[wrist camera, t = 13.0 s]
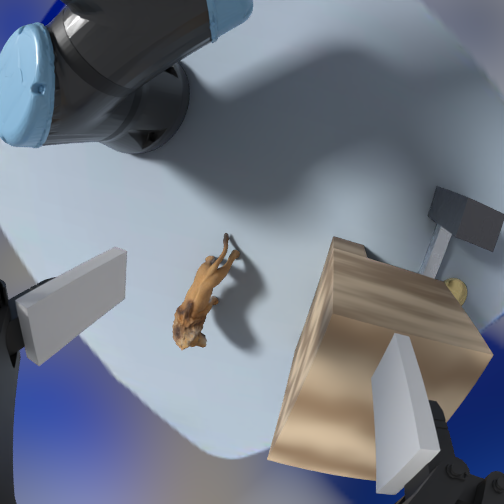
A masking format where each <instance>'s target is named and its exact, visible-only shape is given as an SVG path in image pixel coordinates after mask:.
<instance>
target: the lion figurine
mask: <svg viewBox="0 0 504 504" xmlns="http://www.w3.org/2000/svg"><path fill="white" fill-rule="evenodd" d="M228 240H229V236H228V234H227V233H225V234H224V239H223V243H224V249H223V252H222V253H221V255H220V256H219V258H218V259H217V260H216V261H215V262H214V260H215V257H214V256H208V257H207V258H206V259H205V260H206V262H205V263H203V264H202V265H201V266H200V268H199V269H198V271H197V273H196V276H195V279H194V282H193V284H192V286H191V287H190V289H189V290H188V292H187V294H186V297H185V300H184V302H183V303H182V305H180V306H179V307H178V308H177V310H176V313H175V320H174V324H173V339H174V341H175V342H176V344H177V346H179V348H181V350H183V349H185V348H188V347H189V346H191V347H194V346H200V347H205V346H206V342H207V340H206V338H205V335H204V334H202V333H201V330H202V329H203V324H204V322H205V319H206V315H207V313H208V312H209V311H210V310H211V308H212V305H216V304H218V299H217V297H215V296H211V294H212V291H213V288H214V287H215V286H217V285H218V284H219V283H220V282H221V281H222V280H223V279H224V278H225V276H226V275H227V273H228V272H229V270H230V267H231V265H232V263H233V261H234V260H235V259H237V258H238V257H239V255H240V253H239V251H237V250H233V251H232V253H231V254H230V256H229V258H228V260H227V262H226V264H224V265H223V266H222V267H220V268H218V266H219V264H220V263H221V262H222V260H223V258H224V257H225V255H226V253H227V249H228ZM213 262H214V263H213ZM217 268H218V269H217Z"/></svg>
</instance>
